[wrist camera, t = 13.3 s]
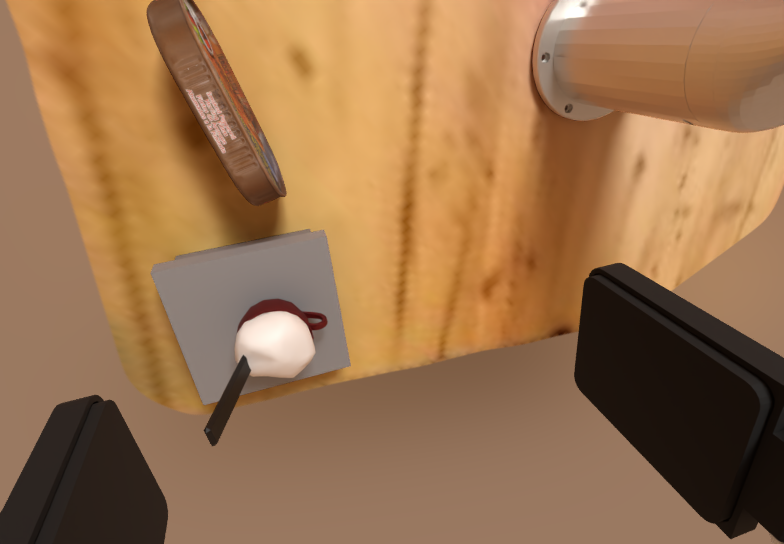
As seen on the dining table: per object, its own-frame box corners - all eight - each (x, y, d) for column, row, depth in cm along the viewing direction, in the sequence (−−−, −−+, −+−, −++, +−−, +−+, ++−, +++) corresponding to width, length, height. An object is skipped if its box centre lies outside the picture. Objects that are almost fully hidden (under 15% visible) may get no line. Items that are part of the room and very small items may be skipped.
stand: (318, 216, 43) (326, 236, 39) (341, 337, 50) (350, 365, 46) (160, 248, 41) (150, 273, 36) (207, 372, 47) (203, 405, 43)
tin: (285, 178, 41) (295, 208, 34) (253, 192, 41) (255, 226, 34) (192, -10, 33) (179, -23, 26) (151, 7, 33) (126, -2, 26)
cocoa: (323, 290, 42) (358, 367, 31) (313, 350, 44) (343, 440, 34) (209, 286, 38) (207, 371, 28) (205, 351, 40) (202, 453, 30)
